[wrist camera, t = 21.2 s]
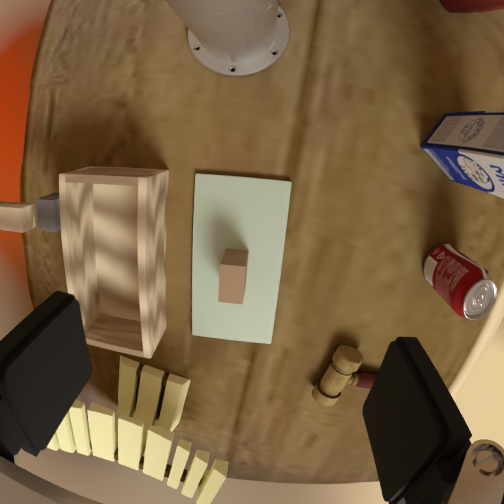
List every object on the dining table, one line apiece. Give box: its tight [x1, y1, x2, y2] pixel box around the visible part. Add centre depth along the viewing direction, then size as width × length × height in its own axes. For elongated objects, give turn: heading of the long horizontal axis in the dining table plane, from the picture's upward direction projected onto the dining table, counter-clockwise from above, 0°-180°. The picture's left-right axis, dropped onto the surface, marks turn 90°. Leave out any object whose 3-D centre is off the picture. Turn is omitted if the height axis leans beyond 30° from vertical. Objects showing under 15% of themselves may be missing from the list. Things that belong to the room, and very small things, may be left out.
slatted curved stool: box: [47, 355, 228, 504], centre depth 46 cm, size 30×16×18 cm, turn 73°
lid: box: [192, 173, 291, 344], centre depth 41 cm, size 24×12×7 cm, turn 175°
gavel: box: [312, 345, 377, 406], centre depth 48 cm, size 21×5×10 cm
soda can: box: [423, 244, 497, 320], centre depth 36 cm, size 7×7×12 cm
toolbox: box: [37, 166, 169, 359], centre depth 40 cm, size 24×15×9 cm, turn 174°
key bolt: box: [0, 201, 35, 233], centre depth 32 cm, size 3×9×2 cm, turn 84°
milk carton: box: [420, 111, 504, 198], centre depth 27 cm, size 7×7×20 cm
